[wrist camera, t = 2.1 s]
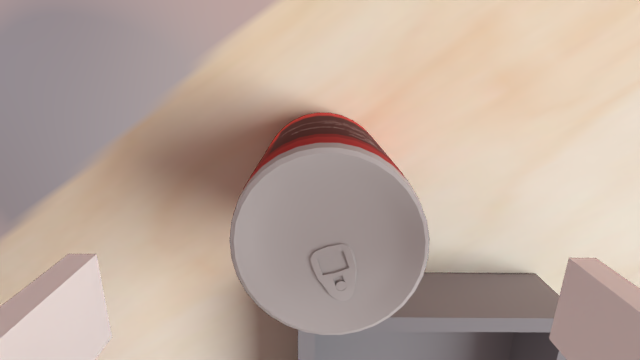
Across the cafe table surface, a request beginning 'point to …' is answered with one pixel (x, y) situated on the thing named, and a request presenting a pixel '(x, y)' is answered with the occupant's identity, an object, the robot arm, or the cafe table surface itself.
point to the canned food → (328, 229)
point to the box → (454, 323)
